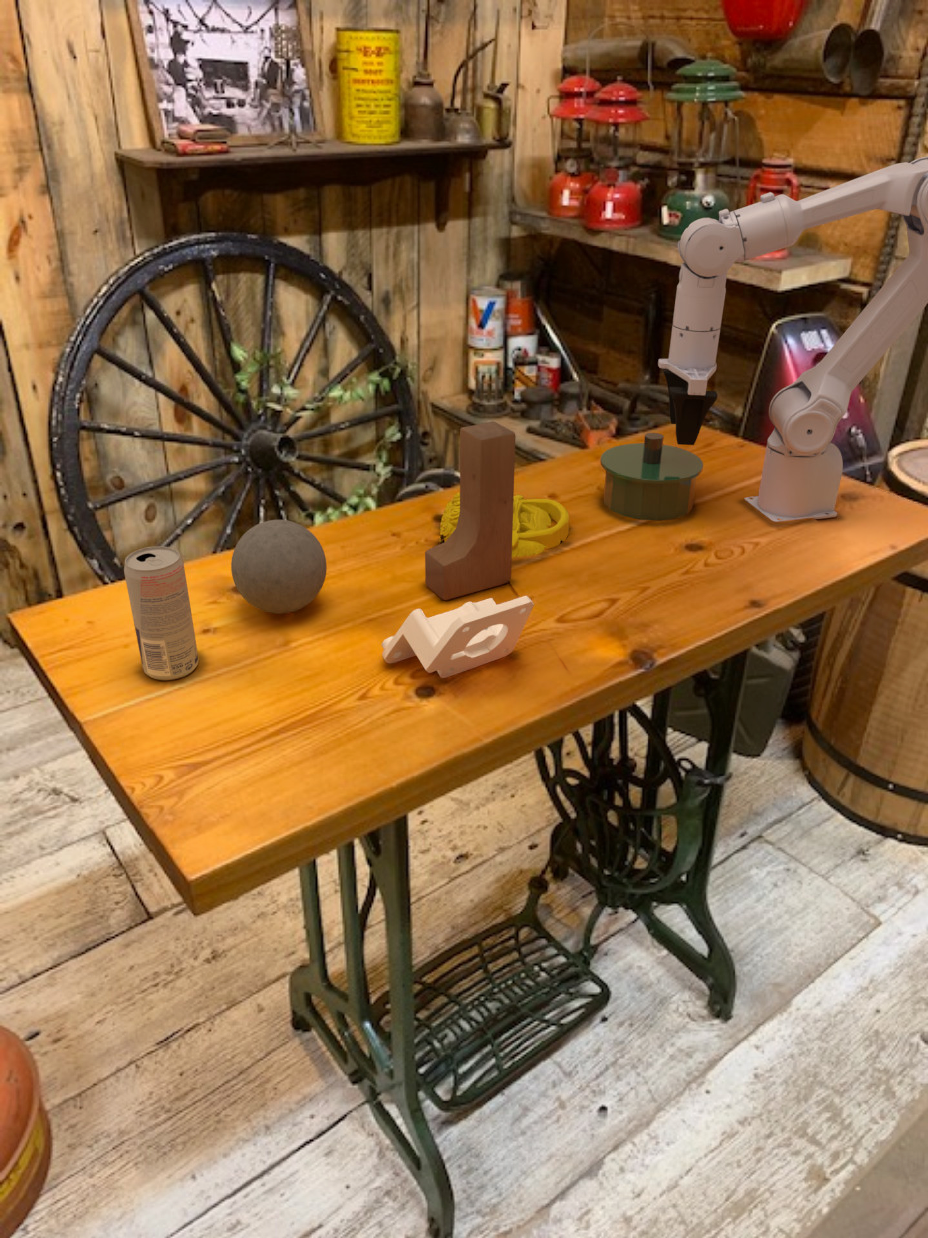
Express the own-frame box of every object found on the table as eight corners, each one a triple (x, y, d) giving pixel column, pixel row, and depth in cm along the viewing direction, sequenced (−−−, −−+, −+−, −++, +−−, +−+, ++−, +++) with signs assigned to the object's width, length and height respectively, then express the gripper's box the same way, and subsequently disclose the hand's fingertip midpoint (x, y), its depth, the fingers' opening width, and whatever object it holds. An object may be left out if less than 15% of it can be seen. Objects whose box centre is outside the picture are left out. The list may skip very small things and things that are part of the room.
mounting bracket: (404, 702, 95) (427, 635, 87) (375, 653, 98) (394, 584, 90) (506, 666, 101) (536, 600, 93) (475, 620, 104) (501, 552, 96)
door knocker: (591, 539, 123) (593, 508, 121) (491, 574, 114) (492, 541, 112) (506, 496, 134) (507, 467, 132) (409, 526, 126) (409, 495, 123)
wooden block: (443, 602, 109) (442, 447, 99) (424, 585, 112) (421, 433, 103) (512, 583, 112) (517, 432, 103) (491, 567, 116) (494, 419, 107)
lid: (674, 446, 136) (678, 415, 134) (720, 482, 125) (725, 448, 123) (585, 455, 133) (587, 423, 130) (624, 493, 122) (627, 458, 119)
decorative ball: (309, 636, 102) (302, 549, 97) (221, 624, 104) (209, 539, 99) (342, 591, 111) (336, 509, 106) (259, 581, 113) (250, 500, 108)
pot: (667, 485, 138) (672, 445, 135) (707, 518, 128) (713, 476, 125) (590, 493, 135) (593, 452, 132) (624, 528, 125) (628, 485, 122)
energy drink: (177, 646, 100) (159, 540, 94) (210, 664, 97) (194, 556, 91) (132, 668, 97) (110, 559, 91) (165, 688, 94) (145, 577, 88)
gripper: (657, 310, 126) (646, 413, 133) (669, 340, 113) (655, 452, 120) (713, 312, 125) (699, 415, 132) (731, 342, 113) (714, 454, 120)
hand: (682, 433), depth 126 cm, fingers open, 7 cm apart
